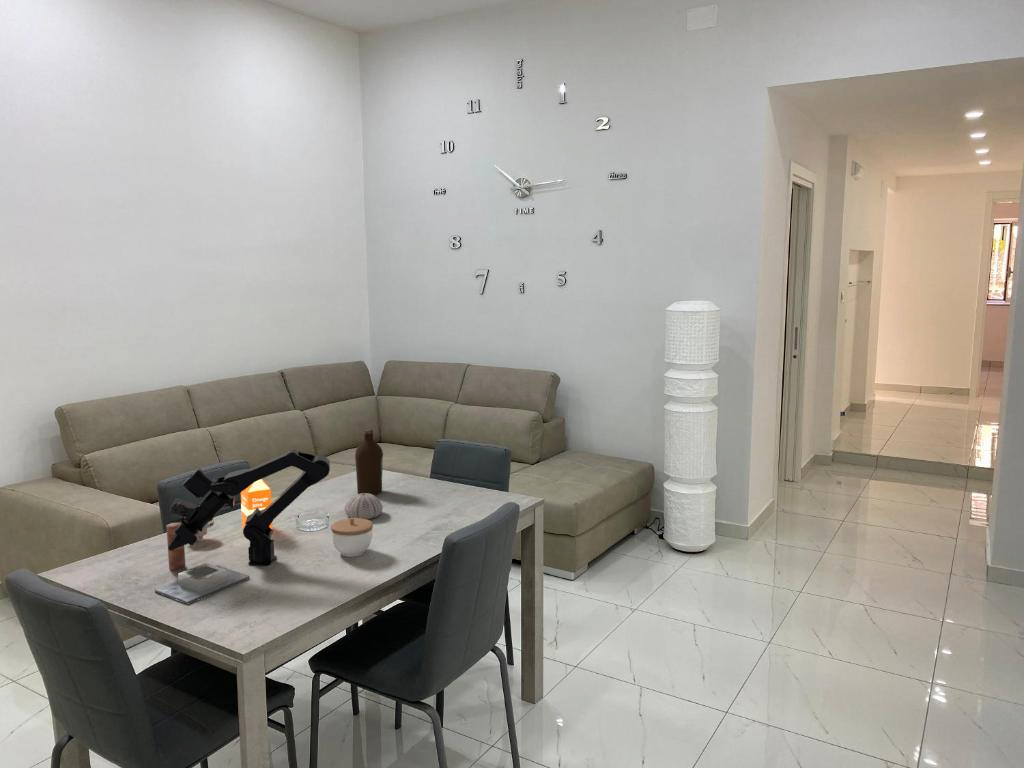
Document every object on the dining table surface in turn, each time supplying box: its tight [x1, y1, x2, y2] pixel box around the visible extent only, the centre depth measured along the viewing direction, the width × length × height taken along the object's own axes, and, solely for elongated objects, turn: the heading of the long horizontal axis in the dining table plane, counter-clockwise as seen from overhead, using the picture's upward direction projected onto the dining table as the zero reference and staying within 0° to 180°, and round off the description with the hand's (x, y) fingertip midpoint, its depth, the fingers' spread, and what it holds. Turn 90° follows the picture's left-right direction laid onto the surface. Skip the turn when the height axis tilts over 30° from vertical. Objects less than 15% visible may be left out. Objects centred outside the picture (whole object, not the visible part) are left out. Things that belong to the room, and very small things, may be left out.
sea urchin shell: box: [344, 493, 383, 520], centre depth 272 cm, size 13×14×8 cm
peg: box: [165, 522, 186, 571], centre depth 224 cm, size 4×4×13 cm
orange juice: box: [240, 479, 273, 530], centre depth 256 cm, size 8×9×20 cm
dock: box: [154, 562, 251, 605], centre depth 212 cm, size 20×14×4 cm
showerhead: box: [196, 518, 215, 542], centre depth 246 cm, size 9×7×10 cm
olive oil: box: [354, 428, 384, 496], centre depth 297 cm, size 11×11×25 cm
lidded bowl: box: [330, 517, 374, 558], centre depth 237 cm, size 13×13×11 cm
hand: (170, 546), depth 223 cm, fingers closed on peg, 4 cm apart
